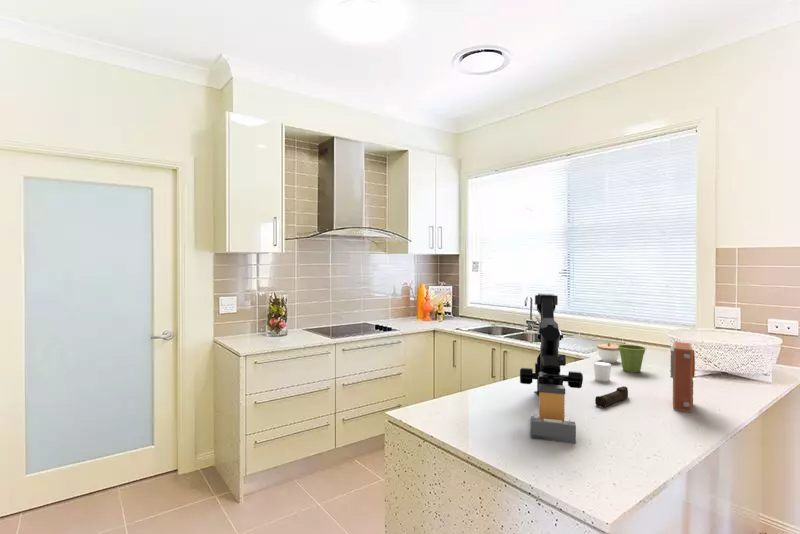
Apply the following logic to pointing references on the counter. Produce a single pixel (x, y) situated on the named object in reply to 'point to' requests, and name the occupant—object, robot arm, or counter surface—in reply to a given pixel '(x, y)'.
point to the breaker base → (553, 429)
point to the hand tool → (612, 397)
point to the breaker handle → (551, 401)
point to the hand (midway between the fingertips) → (551, 402)
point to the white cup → (602, 371)
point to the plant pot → (631, 357)
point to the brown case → (682, 375)
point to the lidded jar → (608, 352)
